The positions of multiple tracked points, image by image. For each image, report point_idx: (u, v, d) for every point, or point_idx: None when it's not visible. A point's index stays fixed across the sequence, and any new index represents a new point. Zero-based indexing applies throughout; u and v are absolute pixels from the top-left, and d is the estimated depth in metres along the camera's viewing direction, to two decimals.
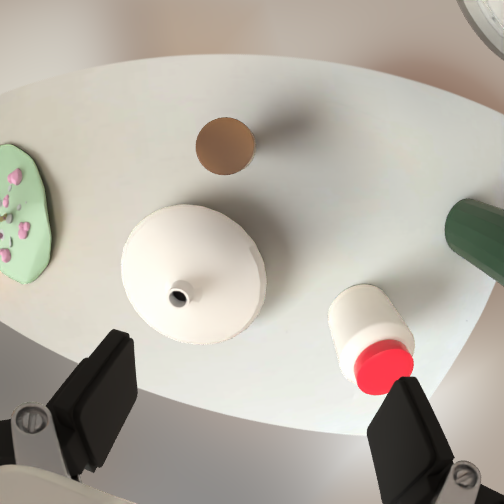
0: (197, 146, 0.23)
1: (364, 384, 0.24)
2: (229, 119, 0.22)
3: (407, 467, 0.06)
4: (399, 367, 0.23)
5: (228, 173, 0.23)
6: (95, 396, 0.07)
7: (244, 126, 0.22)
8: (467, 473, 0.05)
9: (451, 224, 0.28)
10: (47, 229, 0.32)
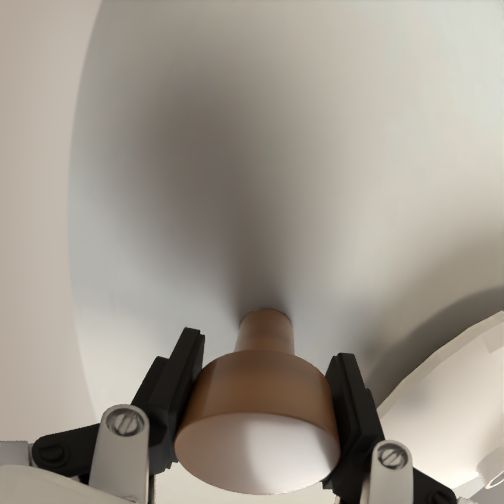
0: (248, 492, 0.07)
1: None
2: (178, 443, 0.07)
3: None
4: None
5: (336, 459, 0.07)
6: (184, 392, 0.08)
7: (199, 422, 0.06)
8: (393, 452, 0.06)
9: None
10: None
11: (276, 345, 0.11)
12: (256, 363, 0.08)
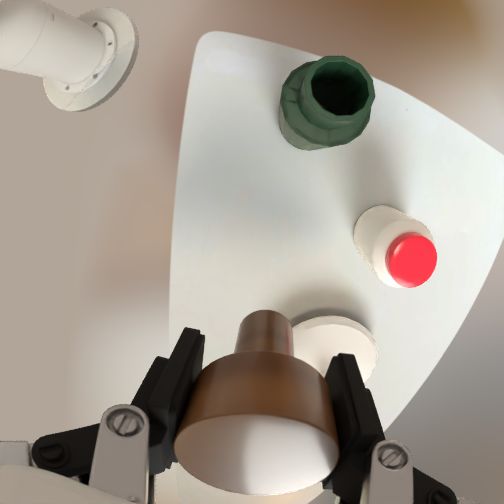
0: (248, 493, 0.07)
1: (419, 280, 0.28)
2: (178, 444, 0.07)
3: None
4: (412, 250, 0.27)
5: (335, 460, 0.07)
6: (184, 392, 0.08)
7: (198, 423, 0.06)
8: (393, 452, 0.06)
9: (303, 149, 0.34)
10: None
11: (276, 346, 0.11)
12: (255, 364, 0.08)
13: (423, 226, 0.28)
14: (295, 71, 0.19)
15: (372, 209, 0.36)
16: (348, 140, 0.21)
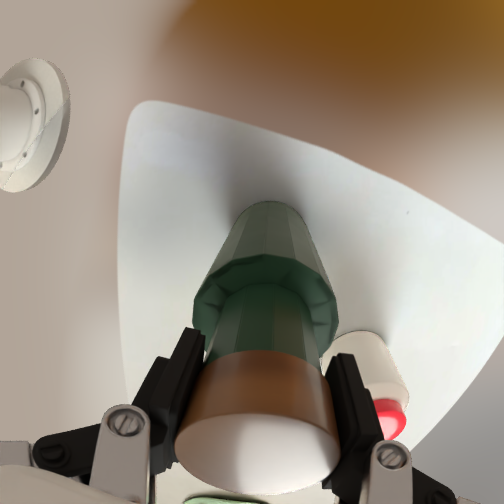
0: (248, 493, 0.07)
1: None
2: (179, 444, 0.07)
3: None
4: None
5: (336, 459, 0.07)
6: (185, 392, 0.08)
7: (199, 423, 0.06)
8: (392, 452, 0.06)
9: None
10: (241, 503, 0.43)
11: None
12: (256, 364, 0.08)
13: (398, 387, 0.22)
14: (213, 276, 0.13)
15: (345, 339, 0.30)
16: None
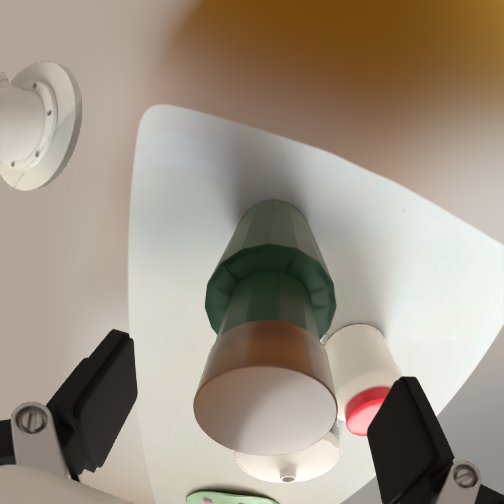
0: (257, 453, 0.09)
1: None
2: (198, 401, 0.09)
3: (407, 467, 0.06)
4: (374, 409, 0.23)
5: (334, 416, 0.08)
6: (95, 396, 0.07)
7: (217, 378, 0.08)
8: (467, 473, 0.05)
9: None
10: (244, 497, 0.44)
11: None
12: (265, 330, 0.10)
13: (395, 376, 0.24)
14: (225, 263, 0.15)
15: (345, 331, 0.32)
16: None
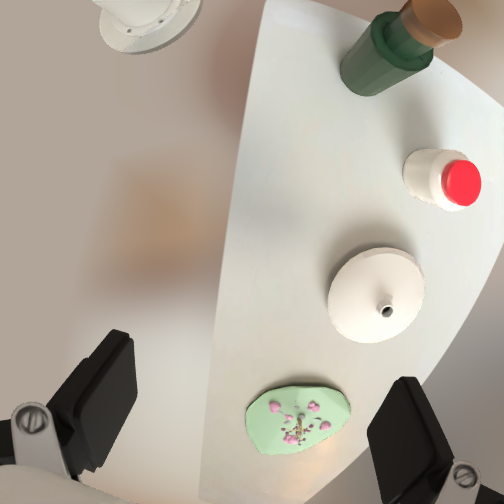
0: (440, 35, 0.14)
1: (469, 200, 0.29)
2: (413, 0, 0.14)
3: (407, 467, 0.06)
4: (462, 171, 0.28)
5: (460, 20, 0.14)
6: (95, 396, 0.07)
7: None
8: (467, 473, 0.05)
9: (362, 93, 0.35)
10: (318, 389, 0.49)
11: None
12: None
13: (466, 158, 0.29)
14: (379, 15, 0.20)
15: (418, 150, 0.37)
16: (420, 69, 0.22)
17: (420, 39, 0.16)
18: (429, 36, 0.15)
